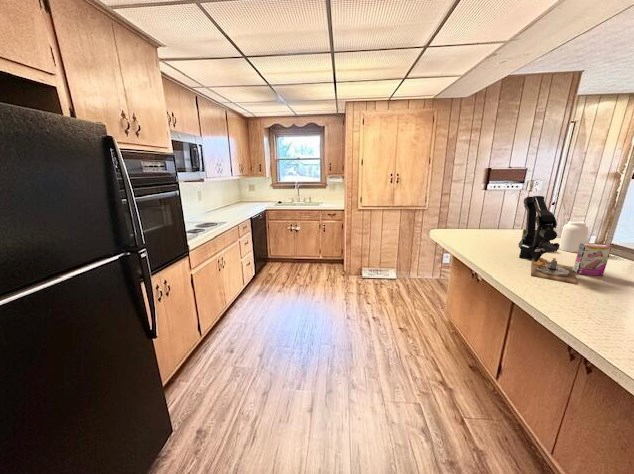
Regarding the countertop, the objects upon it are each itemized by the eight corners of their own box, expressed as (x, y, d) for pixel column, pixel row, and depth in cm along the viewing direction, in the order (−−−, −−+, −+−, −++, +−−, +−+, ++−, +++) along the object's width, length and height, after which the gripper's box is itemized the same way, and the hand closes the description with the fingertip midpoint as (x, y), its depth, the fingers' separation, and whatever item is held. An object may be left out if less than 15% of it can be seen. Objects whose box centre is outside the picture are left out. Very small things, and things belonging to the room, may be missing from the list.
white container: (585, 253, 176) (592, 224, 171) (560, 251, 182) (566, 222, 177) (579, 248, 186) (587, 220, 181) (556, 246, 193) (562, 219, 187)
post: (549, 273, 147) (551, 261, 145) (548, 271, 148) (551, 260, 147) (554, 274, 145) (557, 262, 143) (554, 272, 147) (557, 261, 145)
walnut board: (530, 275, 144) (531, 274, 144) (531, 262, 162) (531, 261, 162) (576, 284, 133) (577, 282, 133) (571, 269, 151) (571, 267, 151)
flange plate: (575, 275, 140) (577, 268, 139) (549, 275, 140) (551, 268, 139) (546, 263, 158) (548, 256, 157) (524, 263, 158) (525, 256, 157)
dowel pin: (550, 267, 155) (552, 258, 153) (550, 266, 156) (552, 257, 154) (554, 267, 154) (556, 259, 152) (553, 267, 155) (556, 258, 154)
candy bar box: (577, 274, 145) (584, 245, 140) (572, 270, 149) (579, 242, 145) (603, 276, 141) (612, 247, 137) (597, 273, 146) (605, 244, 141)
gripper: (540, 240, 142) (533, 267, 146) (570, 239, 144) (563, 266, 148) (522, 235, 153) (516, 260, 157) (550, 234, 155) (544, 259, 159)
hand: (535, 261), depth 155 cm, fingers closed
